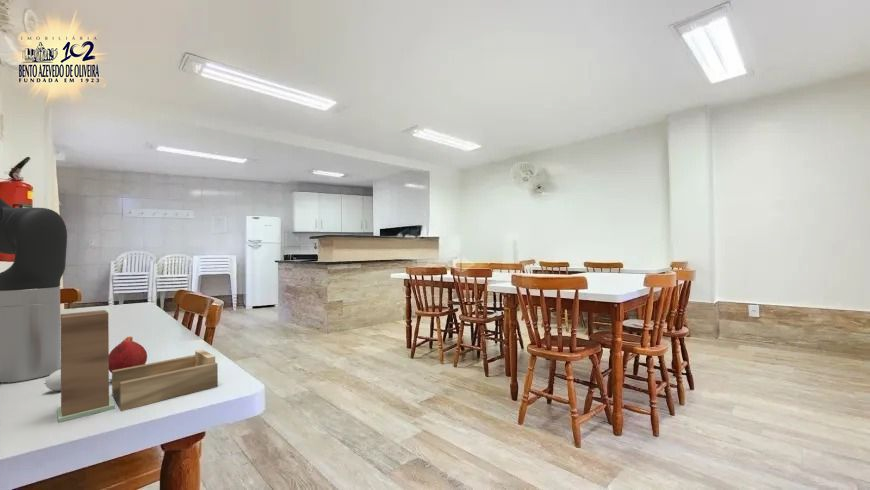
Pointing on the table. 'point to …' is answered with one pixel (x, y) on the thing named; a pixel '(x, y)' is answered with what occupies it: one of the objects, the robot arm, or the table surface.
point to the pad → (68, 417)
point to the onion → (127, 355)
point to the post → (84, 361)
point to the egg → (54, 381)
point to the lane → (164, 380)
